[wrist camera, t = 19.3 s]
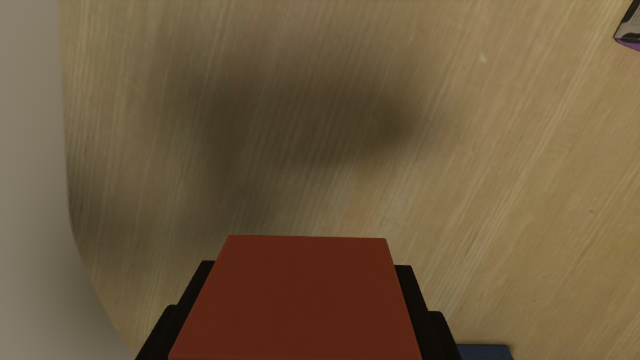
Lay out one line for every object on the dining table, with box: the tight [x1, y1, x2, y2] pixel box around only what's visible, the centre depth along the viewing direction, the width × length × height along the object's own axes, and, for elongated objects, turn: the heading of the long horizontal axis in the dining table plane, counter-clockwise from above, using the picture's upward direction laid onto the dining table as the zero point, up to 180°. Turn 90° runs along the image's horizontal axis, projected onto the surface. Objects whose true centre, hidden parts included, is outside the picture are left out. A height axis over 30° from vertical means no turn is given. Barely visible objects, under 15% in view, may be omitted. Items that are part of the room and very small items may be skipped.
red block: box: [168, 235, 422, 360], centre depth 9 cm, size 4×4×4 cm
